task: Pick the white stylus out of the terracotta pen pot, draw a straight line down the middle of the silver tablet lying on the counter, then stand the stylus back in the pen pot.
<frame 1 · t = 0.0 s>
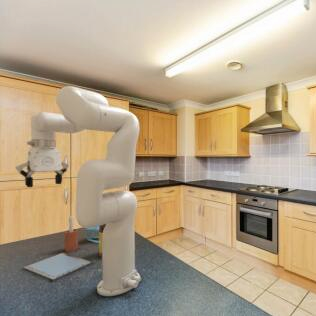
hand: (44, 185, 88), 31 cm above the countertop, tool pointing down, fingers open, 9 cm apart
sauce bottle: (107, 254, 93), on the countertop
chair: (96, 240, 108), on the countertop
tablet: (58, 266, 83), on the countertop
pen pot: (71, 250, 97), on the countertop
stylus: (71, 249, 97), resting on pen pot
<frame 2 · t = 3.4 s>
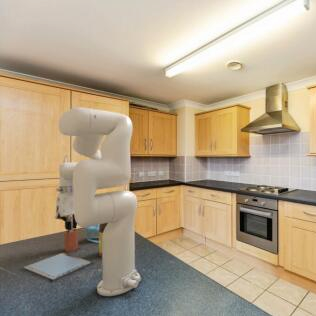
hand: (71, 228, 97), 10 cm above the countertop, tool pointing down, fingers closed on stylus, 1 cm apart
stylus: (71, 249, 97), resting on pen pot, touching gripper
everything else where it was.
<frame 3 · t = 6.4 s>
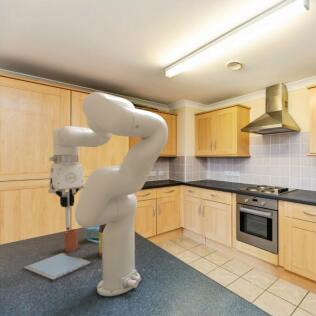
hand: (67, 205, 83), 24 cm above the countertop, tool pointing down, fingers closed on stylus, 1 cm apart
stylus: (68, 229, 83), point 14 cm above the countertop, touching gripper
everything else where it was.
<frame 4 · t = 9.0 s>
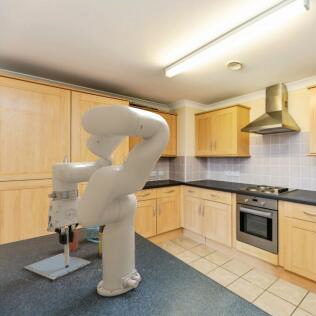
hand: (66, 242, 80), 10 cm above the countertop, tool pointing down, fingers closed on stylus, 1 cm apart
tablet: (58, 266, 83), on the countertop, touching stylus
stylus: (67, 267, 80), point 1 cm above the countertop, touching gripper, tablet
everything else where it was.
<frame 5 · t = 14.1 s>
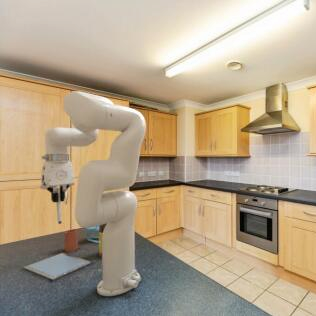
hand: (58, 201, 90), 24 cm above the countertop, tool pointing down, fingers closed on stylus, 1 cm apart
tablet: (58, 266, 83), on the countertop
stylus: (60, 223, 89), point 15 cm above the countertop, touching gripper
everything else where it was.
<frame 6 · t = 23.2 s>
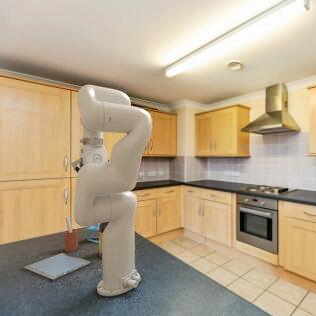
hand: (93, 180, 94), 32 cm above the countertop, tool pointing down, fingers open, 9 cm apart
stylus: (72, 249, 96), point 1 cm above the countertop, tilted 14°, touching pen pot
everything else where it was.
at the end: stylus 1.0 cm off-centre in the pen pot, point 0.6 cm above the pen pot's base; stylus tilted 14°; tablet moved 0.0 cm from its start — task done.
